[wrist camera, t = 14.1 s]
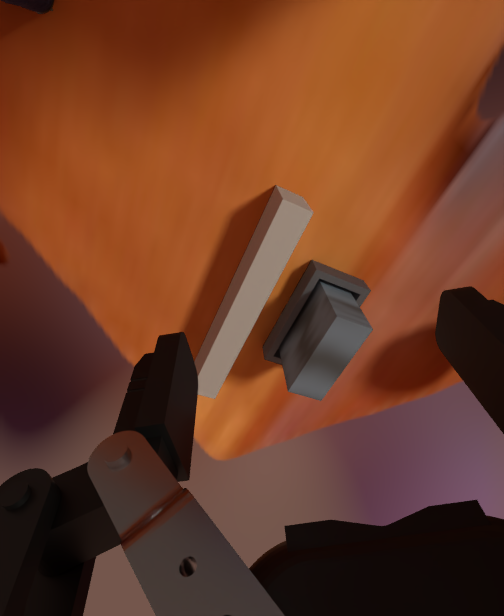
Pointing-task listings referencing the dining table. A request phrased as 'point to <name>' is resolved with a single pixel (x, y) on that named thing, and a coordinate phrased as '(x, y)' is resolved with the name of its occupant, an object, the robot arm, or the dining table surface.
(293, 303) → the cradle
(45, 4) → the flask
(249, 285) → the door board
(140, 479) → the robot arm
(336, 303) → the block
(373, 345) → the dining table surface
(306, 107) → the dining table surface
